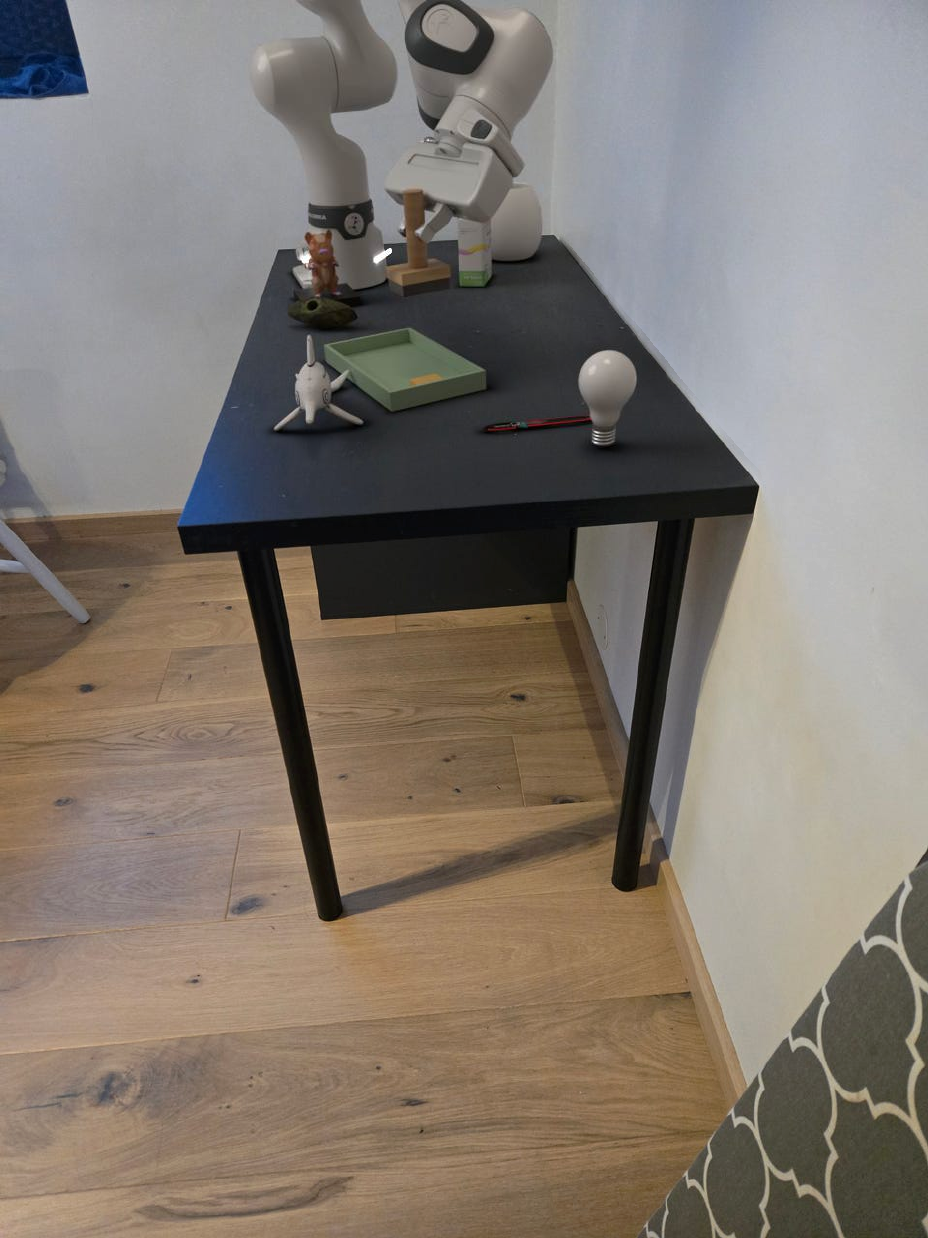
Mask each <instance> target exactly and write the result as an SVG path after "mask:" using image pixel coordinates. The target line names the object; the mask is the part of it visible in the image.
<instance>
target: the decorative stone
mask: <svg viewBox="0 0 928 1238" xmlns="http://www.w3.org/2000/svg"><path fill="white" fill-rule="evenodd" d="M287 315H288V317H289V318H291V319H293V320H295V321H297V322H300V323H302V324H305V325H307V326H310V327H312V328H315V329H320V330H321V329H328V328H336V327H340V326H345V325H349V324H350V323H352V322H355V321H357V320H358V319H359V316H358V314H357V313H356V311H355V310H354V309H353V308H352V306H351V307H349V306H348V305H346V304H344V303H341V302H338V301H335V300H332V299H328V298H324V297H319V296H313V297H309V298H306V299H303V300H300V301H294V302H292V303H290V304H289V305H288V306H287Z"/></svg>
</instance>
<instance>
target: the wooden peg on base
mask: <svg viewBox="0 0 928 1238" xmlns="http://www.w3.org/2000/svg"><path fill="white" fill-rule="evenodd" d="M403 201H404V205H403V211H404V214H405V228H406V238H405V239H406V252H407V253H406V254H407V262H406V263H400V264H394V265H387V267H386V270H387V278H386V279H387V280H388V290H389V291H390V292H392V293H395V294H396V295H398V296H400V297H402V298H408V297H409V298H410V297H414V296H419V295H420V296H421V295H425V294H430V293H435V292H439V291H444V290H445V291H446V290H450V289H451V278H452V272H451V271H452V269H451V265H450V264H448V263H446V262H444V261H441V260H438V259H436V258H428V245H427V244H428V243H424V242H421V241H419V239H418V238H417V237H416V236H415V231H416V230H417V229H418V226H419V224H420V223H421V222H422V223H425V222H426V212H425V211H426V210H424V193H423V190H422V189H407V190H404V191H403Z"/></svg>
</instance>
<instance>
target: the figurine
mask: <svg viewBox="0 0 928 1238" xmlns="http://www.w3.org/2000/svg"><path fill="white" fill-rule="evenodd" d="M306 232H307V231H306ZM306 232H305V235H304V236H303V238H305V240H306V242H307V243H308V245H309V246H310V248H309V253H310V255H311V256H312V257H311V258H309V260H308V270H309V271H310V270H311V269H312V276H313V278H312V279H311V283H312V284H313V288H306V289H303V288H300V289H299V288H298V289H293V290H292V292H293V299H294V300H295V302H297V301H300V300H303V299H306V298H309V297H313V296H319V297H324V298H328V299H332V300H335V301H338V302H341V303H344V304H346V305H348V306H349V307H351V308H352V307H357V306H361V296H360V295H359V294H358V293H357V292H356V291H355V289H352V288H351V287H350V286H349V285H348V284H347V283H344V284H337V283H338V280H339V278H338V276H337V275H336V269H335V266H337V267H338V266H339V265H338V264H339V262H338V261H337V260H335V257H334V256H333V254H334V249H333V246H332V244H331V239H332V233H331V231H330V230H327V231H326V233H319V234H313V235H312V234H311V233H310V232H307V233H306Z"/></svg>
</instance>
